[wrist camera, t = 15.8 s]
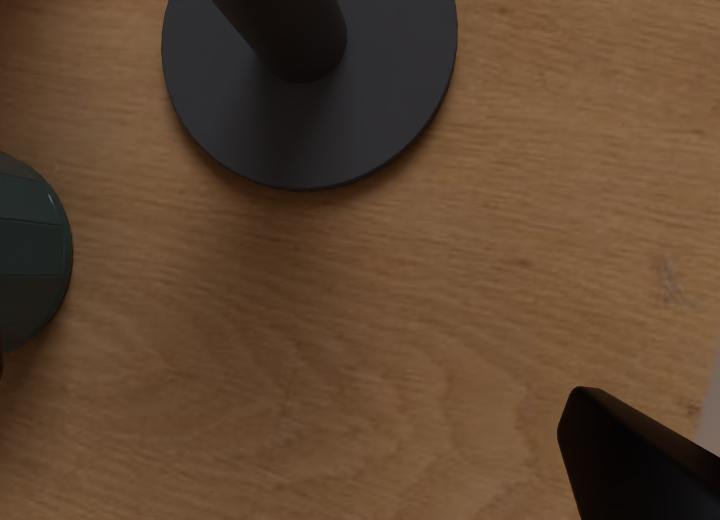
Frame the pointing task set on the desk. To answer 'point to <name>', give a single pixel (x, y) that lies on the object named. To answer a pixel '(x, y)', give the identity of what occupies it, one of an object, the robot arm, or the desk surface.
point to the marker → (291, 34)
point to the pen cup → (30, 252)
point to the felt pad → (311, 92)
